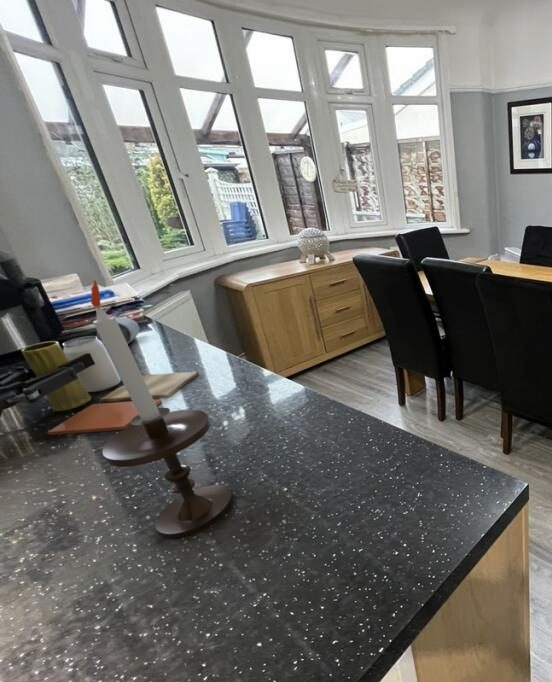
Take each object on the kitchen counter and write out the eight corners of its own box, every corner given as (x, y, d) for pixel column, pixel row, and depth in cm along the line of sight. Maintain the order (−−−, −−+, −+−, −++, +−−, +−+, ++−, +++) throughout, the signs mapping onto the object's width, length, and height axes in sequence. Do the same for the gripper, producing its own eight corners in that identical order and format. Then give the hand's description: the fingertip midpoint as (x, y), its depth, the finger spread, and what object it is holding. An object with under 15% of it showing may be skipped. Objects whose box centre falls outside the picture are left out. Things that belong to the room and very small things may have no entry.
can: (106, 378, 98) (84, 334, 93) (128, 380, 97) (107, 335, 92) (77, 392, 92) (51, 346, 87) (100, 393, 91) (75, 347, 86)
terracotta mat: (49, 435, 77) (47, 432, 76) (94, 407, 86) (92, 404, 86) (125, 429, 78) (123, 426, 77) (161, 402, 87) (160, 399, 87)
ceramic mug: (145, 335, 124) (134, 312, 121) (136, 344, 118) (124, 320, 114) (101, 342, 120) (89, 319, 117) (90, 352, 113) (76, 328, 110)
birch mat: (101, 402, 88) (100, 399, 87) (139, 378, 98) (138, 375, 97) (168, 397, 89) (166, 394, 88) (198, 374, 99) (197, 371, 98)
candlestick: (231, 475, 65) (144, 265, 51) (247, 511, 58) (152, 279, 44) (145, 512, 58) (18, 283, 44) (152, 559, 51) (3, 303, 37)
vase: (46, 414, 84) (9, 354, 78) (62, 400, 89) (29, 343, 83) (83, 407, 86) (50, 348, 80) (97, 394, 91) (67, 338, 85)
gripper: (-93, 441, 68) (40, 377, 89) (21, 432, 70) (126, 371, 91) (-123, 405, 65) (23, 347, 86) (-2, 396, 67) (112, 341, 88)
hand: (76, 359), depth 89 cm, fingers closed on vase, 5 cm apart
